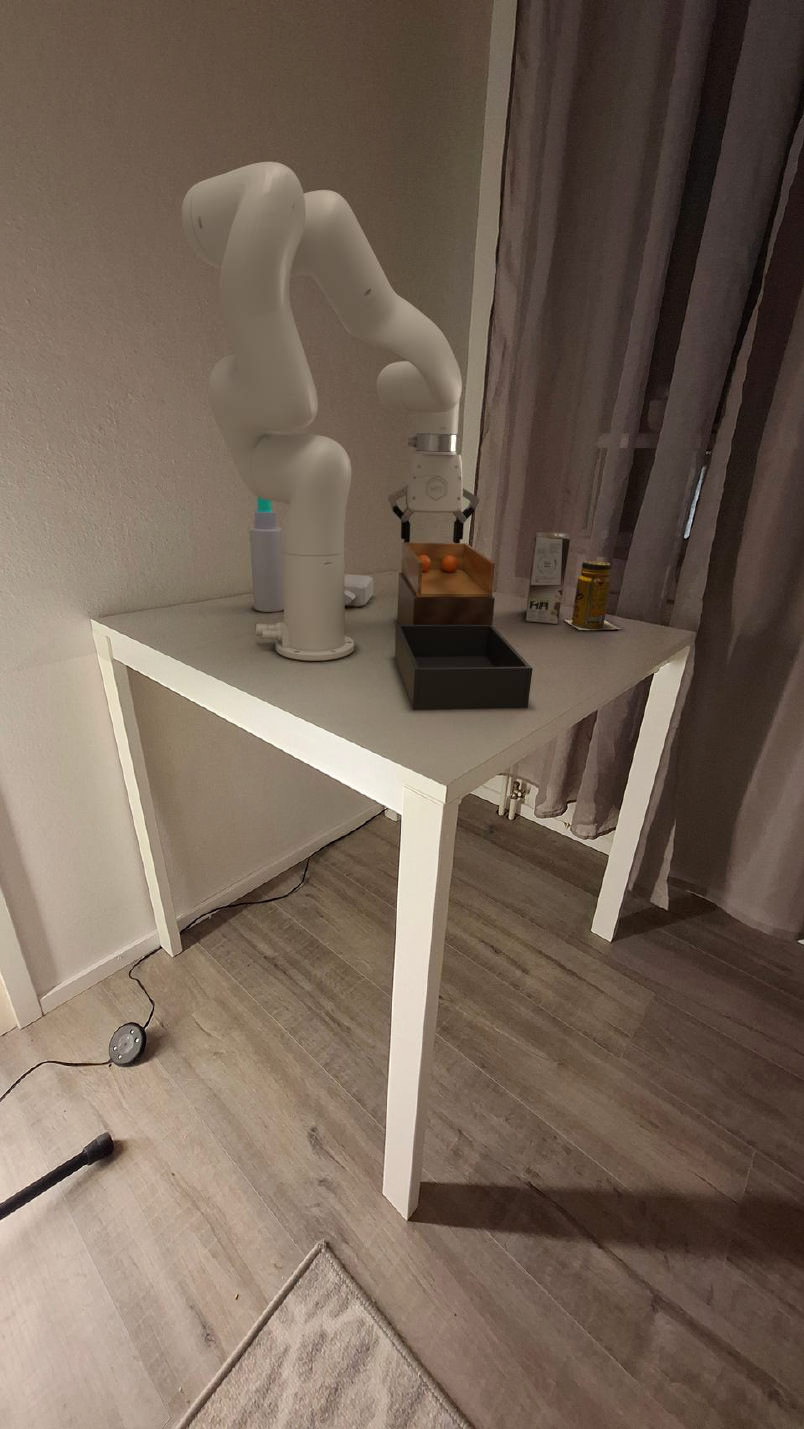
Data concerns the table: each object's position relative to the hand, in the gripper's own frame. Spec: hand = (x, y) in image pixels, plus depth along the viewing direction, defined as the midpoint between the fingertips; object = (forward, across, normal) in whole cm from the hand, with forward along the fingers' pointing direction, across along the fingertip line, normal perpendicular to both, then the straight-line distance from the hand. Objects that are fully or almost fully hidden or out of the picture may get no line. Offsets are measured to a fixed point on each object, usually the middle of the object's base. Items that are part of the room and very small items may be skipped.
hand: (431, 543), depth 117 cm
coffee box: (+14, +23, -3) cm, 27 cm away
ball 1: (+2, -3, -7) cm, 8 cm away
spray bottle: (+14, -31, +3) cm, 34 cm away
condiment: (+14, +31, -9) cm, 35 cm away
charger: (+14, -16, +7) cm, 23 cm away
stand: (+14, 0, -15) cm, 20 cm away
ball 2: (+2, +2, -7) cm, 8 cm away
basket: (+13, -2, -38) cm, 40 cm away
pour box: (+5, 0, -12) cm, 13 cm away
